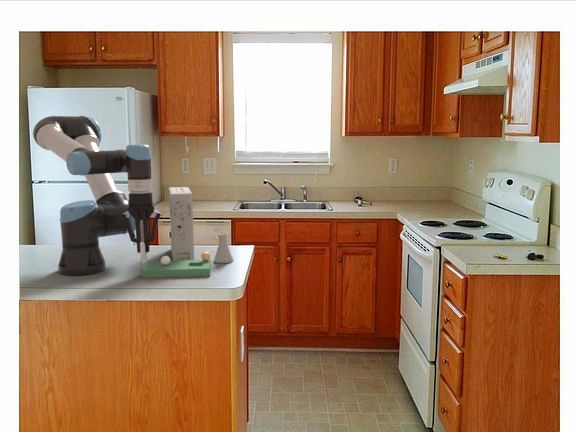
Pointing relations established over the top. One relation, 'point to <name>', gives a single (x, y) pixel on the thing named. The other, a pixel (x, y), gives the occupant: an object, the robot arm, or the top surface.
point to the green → (177, 268)
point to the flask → (223, 251)
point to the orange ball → (205, 256)
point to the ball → (165, 260)
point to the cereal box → (181, 223)
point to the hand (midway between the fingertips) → (144, 261)
